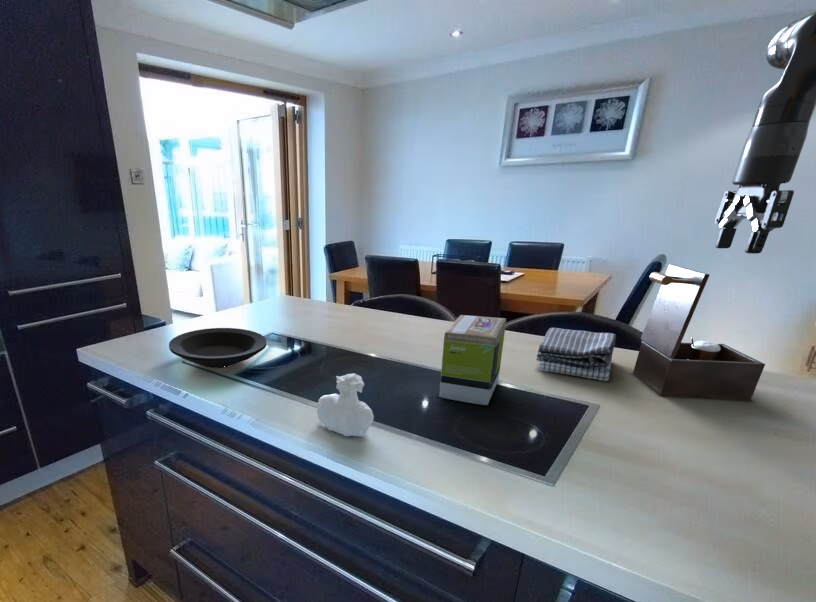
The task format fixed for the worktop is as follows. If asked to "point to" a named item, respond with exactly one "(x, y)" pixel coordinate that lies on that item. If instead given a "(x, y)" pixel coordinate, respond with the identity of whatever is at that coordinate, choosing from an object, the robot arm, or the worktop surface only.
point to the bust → (345, 408)
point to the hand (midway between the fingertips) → (736, 250)
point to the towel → (577, 353)
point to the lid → (673, 307)
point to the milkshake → (704, 350)
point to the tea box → (472, 359)
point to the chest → (699, 373)
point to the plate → (217, 346)
